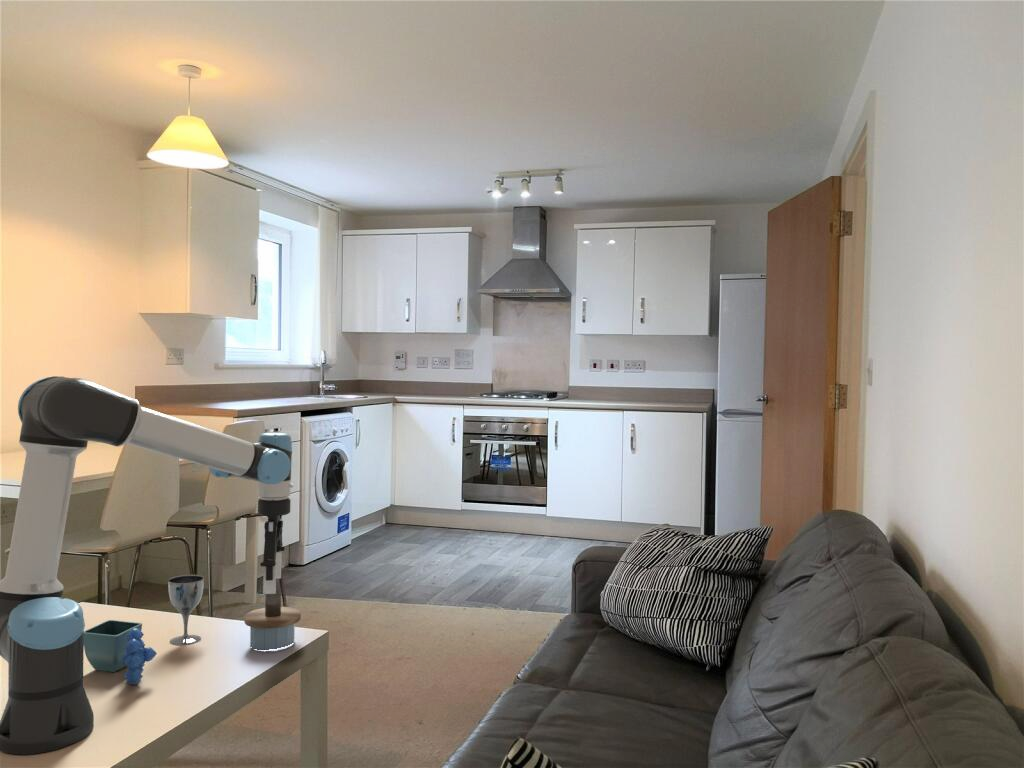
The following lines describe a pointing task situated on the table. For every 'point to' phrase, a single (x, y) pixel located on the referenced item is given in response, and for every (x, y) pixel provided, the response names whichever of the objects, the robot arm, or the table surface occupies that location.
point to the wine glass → (185, 602)
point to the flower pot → (108, 644)
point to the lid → (272, 614)
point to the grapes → (136, 656)
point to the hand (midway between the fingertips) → (272, 585)
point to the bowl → (271, 637)
